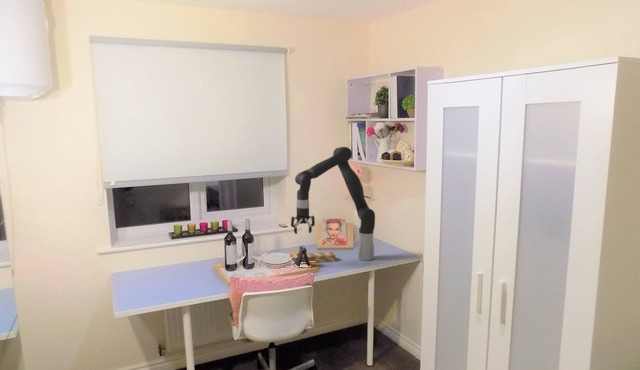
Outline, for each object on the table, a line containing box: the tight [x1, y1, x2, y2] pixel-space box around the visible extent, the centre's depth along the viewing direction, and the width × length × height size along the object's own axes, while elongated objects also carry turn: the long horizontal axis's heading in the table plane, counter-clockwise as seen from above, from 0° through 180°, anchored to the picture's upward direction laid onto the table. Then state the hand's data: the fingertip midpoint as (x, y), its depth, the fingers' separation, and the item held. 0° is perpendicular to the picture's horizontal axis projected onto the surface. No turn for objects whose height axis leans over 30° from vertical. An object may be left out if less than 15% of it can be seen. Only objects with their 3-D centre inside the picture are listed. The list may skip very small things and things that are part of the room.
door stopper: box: [294, 245, 311, 266], centre depth 270 cm, size 9×6×12 cm, turn 106°
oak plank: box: [289, 251, 336, 263], centre depth 282 cm, size 28×8×4 cm, turn 106°
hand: (302, 233), depth 269 cm, fingers open, 8 cm apart
